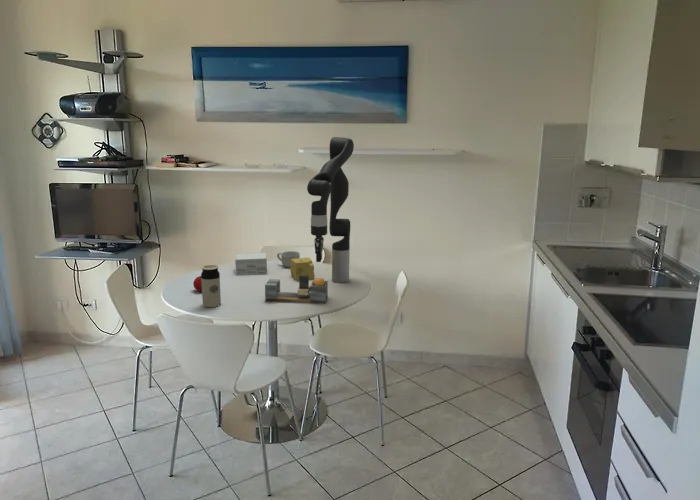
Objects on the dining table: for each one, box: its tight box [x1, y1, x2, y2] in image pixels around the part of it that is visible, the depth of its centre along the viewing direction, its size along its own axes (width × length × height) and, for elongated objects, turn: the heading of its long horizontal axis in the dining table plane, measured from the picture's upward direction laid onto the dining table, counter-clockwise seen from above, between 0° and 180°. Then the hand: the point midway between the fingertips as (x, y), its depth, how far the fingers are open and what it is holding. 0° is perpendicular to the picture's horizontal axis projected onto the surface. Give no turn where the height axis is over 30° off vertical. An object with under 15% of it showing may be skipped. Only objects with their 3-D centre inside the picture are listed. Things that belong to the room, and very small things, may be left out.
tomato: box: [193, 275, 202, 293], centre depth 254 cm, size 9×9×8 cm
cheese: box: [289, 256, 316, 282], centre depth 278 cm, size 10×11×10 cm
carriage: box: [297, 274, 311, 295], centre depth 242 cm, size 7×5×8 cm
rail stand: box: [264, 278, 329, 305], centre depth 243 cm, size 10×28×8 cm, turn 86°
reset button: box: [313, 277, 325, 286], centre depth 242 cm, size 5×5×4 cm
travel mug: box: [200, 264, 222, 308], centre depth 233 cm, size 8×8×18 cm
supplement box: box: [234, 252, 268, 276], centre depth 288 cm, size 17×13×9 cm
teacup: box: [276, 250, 301, 269], centre depth 301 cm, size 14×11×8 cm
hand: (319, 260), depth 239 cm, fingers open, 3 cm apart
